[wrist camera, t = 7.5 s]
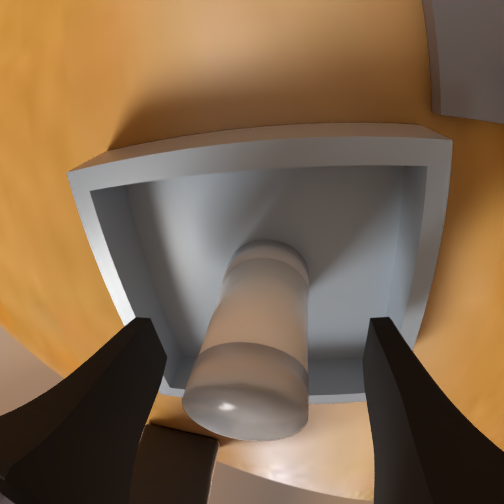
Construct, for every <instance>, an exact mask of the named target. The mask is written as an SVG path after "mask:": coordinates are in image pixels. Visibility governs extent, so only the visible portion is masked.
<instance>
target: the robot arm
mask: <svg viewBox="0 0 504 504" xmlns="http://www.w3.org/2000/svg"><path fill="white" fill-rule="evenodd" d="M362 361H363V376H364V389H365V395H366V401H367V407H368V413H369V419H370V425H371V432H372V439H373V446H374V461H375V483H374V504H504V452H503V451H502V450H501V449H500V448H498V447H497V446H496V445H495V444H494V443H492V442H491V441H490V440H489V439H488V438H487V437H486V436H485V435H484V434H482V433H481V432H480V431H479V430H478V429H477V428H476V427H475V426H474V425H473V424H472V423H471V422H470V421H469V420H468V419H467V418H466V417H465V416H464V415H463V414H462V413H461V412H460V411H459V410H458V409H457V408H456V406H455V405H454V404H453V403H452V402H451V401H450V400H449V399H448V397H447V396H446V395H445V394H444V393H443V391H442V390H441V389H440V388H439V386H438V385H437V384H436V383H435V381H434V380H433V379H432V377H431V376H430V375H429V373H428V372H427V371H426V369H425V368H424V367H423V365H422V364H421V362H420V361H419V360H418V358H417V357H416V356H415V354H414V353H413V351H412V350H411V348H410V347H409V345H408V344H407V342H406V341H405V340H404V338H403V336H402V335H401V333H400V332H399V330H398V329H397V327H396V326H395V324H394V323H393V321H392V319H391V318H390V317H375V318H370V322H369V328H368V333H367V339H366V344H365V349H364V355H363V360H362ZM166 362H167V355H166V353H165V350H164V348H163V346H162V344H161V341H160V339H159V337H158V335H157V332H156V330H155V327H154V325H153V323H152V320H151V318H142V317H135V318H134V319H133V320H132V321H130V322H129V323H128V324H127V325H126V326H125V327H124V328H122V329H121V330H120V331H119V332H118V333H117V334H116V335H115V336H114V337H113V338H111V339H110V340H109V341H108V342H107V343H106V344H105V345H104V346H103V347H102V348H100V349H99V350H98V351H97V352H96V353H95V354H94V355H93V356H92V357H90V358H89V359H88V360H87V361H86V362H84V363H83V364H82V365H81V366H80V367H79V368H77V369H76V370H75V371H74V372H73V373H71V374H70V375H69V376H68V377H66V378H65V379H64V380H62V381H61V382H60V383H58V384H57V385H56V386H54V387H53V388H51V389H50V390H48V391H47V392H45V393H43V394H42V395H40V396H38V397H37V398H35V399H34V400H32V401H30V402H28V403H27V404H25V405H23V406H21V407H19V408H17V409H15V410H13V411H11V412H8V413H6V414H4V415H2V416H0V504H128V503H129V494H130V486H131V479H132V474H133V468H134V463H135V458H136V454H137V450H138V445H139V441H140V438H141V435H142V432H143V429H144V427H145V424H146V421H147V419H148V416H149V414H150V411H151V408H152V406H153V403H154V401H155V398H156V395H157V393H158V390H159V388H160V385H161V382H162V378H163V374H164V371H165V366H166Z"/></svg>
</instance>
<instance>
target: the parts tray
mask: <svg viewBox="0 0 504 504" xmlns="http://www.w3.org/2000/svg"><path fill="white" fill-rule="evenodd" d="M452 145H453V140H451V139H449V138H447V137H445V136H443V135H441V134H439V133H437V132H435V131H432V130H430V129H428V128H426V127H424V126H422V125H417V124H398V123H311V124H291V125H276V126H263V127H252V128H242V129H233V130H224V131H216V132H209V133H201V134H195V135H188V136H182V137H175V138H170V139H164V140H158V141H153V142H148V143H143V144H138V145H133V146H128V147H123V148H119V149H114V150H110V151H106V152H104V153H102V154H100V155H98V156H96V157H94V158H92V159H90V160H89V161H87V162H85V163H83V164H81V165H79V166H77V167H76V168H74V169H72V170H70V171H69V172H67V176H68V179H69V183H70V186H71V190H72V193H73V196H74V200H75V203H76V206H77V209H78V212H79V215H80V218H81V221H82V224H83V227H84V230H85V232H86V235H87V238H88V241H89V244H90V246H91V249H92V252H93V254H94V257H95V259H96V262H97V264H98V267H99V269H100V272H101V274H102V277H103V279H104V282H105V284H106V286H107V289H108V291H109V293H110V295H111V298H112V300H113V302H114V304H115V307H116V309H117V311H118V313H119V315H120V317H121V320H122V322H123V324H124V326H126V325H127V324H128V323H129V322H130V321H132V320H133V319H134V318H135V317H142V318H151V320H152V323H153V325H154V327H155V330H156V332H157V335H158V337H159V339H160V341H161V344H162V346H163V348H164V350H165V353H166V355H167V362H166V366H165V371H164V374H163V378H162V382H161V385H160V388H159V392H160V393H161V394H162V395H169V396H177V397H183V395H184V392H185V389H186V386H187V383H188V380H189V377H190V374H191V371H192V368H193V365H194V362H195V360H196V358H197V357H198V356H199V353H200V350H201V347H202V344H203V341H204V338H205V335H206V332H207V329H208V326H209V323H210V320H211V317H212V314H213V311H214V308H215V305H216V302H217V300H218V297H219V294H220V291H221V288H222V281H223V278H224V275H225V272H226V270H227V267H228V264H229V261H230V259H231V257H232V255H233V254H234V253H235V252H236V251H237V250H238V249H239V248H240V247H241V246H243V245H245V244H247V243H249V242H252V241H256V240H265V239H268V240H276V241H280V242H283V243H285V244H287V245H290V246H291V247H293V248H294V249H295V250H297V251H298V252H299V253H300V254H301V255H302V257H303V258H304V260H305V262H306V264H307V267H308V271H309V299H308V376H309V404H328V403H349V402H363V401H366V395H365V389H364V376H363V361H362V360H363V355H364V349H365V344H366V339H367V333H368V328H369V322H370V318H375V317H390V318H391V319H392V321H393V323H394V324H395V326H396V327H397V329H398V330H399V332H400V333H401V335H402V336H403V338H404V340H405V341H406V342H407V344H408V345H409V347H410V348H411V350H412V351H413V348H414V345H415V342H416V339H417V335H418V332H419V329H420V326H421V322H422V319H423V316H424V312H425V309H426V305H427V301H428V297H429V294H430V290H431V286H432V282H433V277H434V273H435V269H436V264H437V259H438V254H439V249H440V244H441V239H442V233H443V227H444V221H445V215H446V208H447V200H448V192H449V183H450V173H451V161H452Z"/></svg>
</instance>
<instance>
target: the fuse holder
mask: <svg viewBox="0 0 504 504" xmlns="http://www.w3.org/2000/svg"><path fill="white" fill-rule="evenodd" d="M422 3H423V9H424V16H425V23H426V30H427V39H428V48H429V59H430V74H431V97H432V112H433V113H436V114H439V115H443V116H453V117H461V118H468V119H476V120H482V121H489V122H494V123H500V124H504V0H422Z"/></svg>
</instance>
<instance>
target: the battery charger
mask: <svg viewBox="0 0 504 504" xmlns="http://www.w3.org/2000/svg"><path fill="white" fill-rule="evenodd" d="M219 448H220V443H219V442H218V441H217V440H215V439H211V438H207V437H203V436H199V435H194V434H190V433H186V432H182V431H177V430H173V429H168V428H164V427H159V426H154V425H150V424H147V425H146V426H145V428H144V431H143V434H142V437H141V440H140V442H139V445H138V450H137V454H136V458H135V463H134V468H133V474H132V479H131V486H130V494H129V503H128V504H209V498H210V492H211V485H212V478H213V473H214V468H215V463H216V459H217V455H218V451H219Z"/></svg>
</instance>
